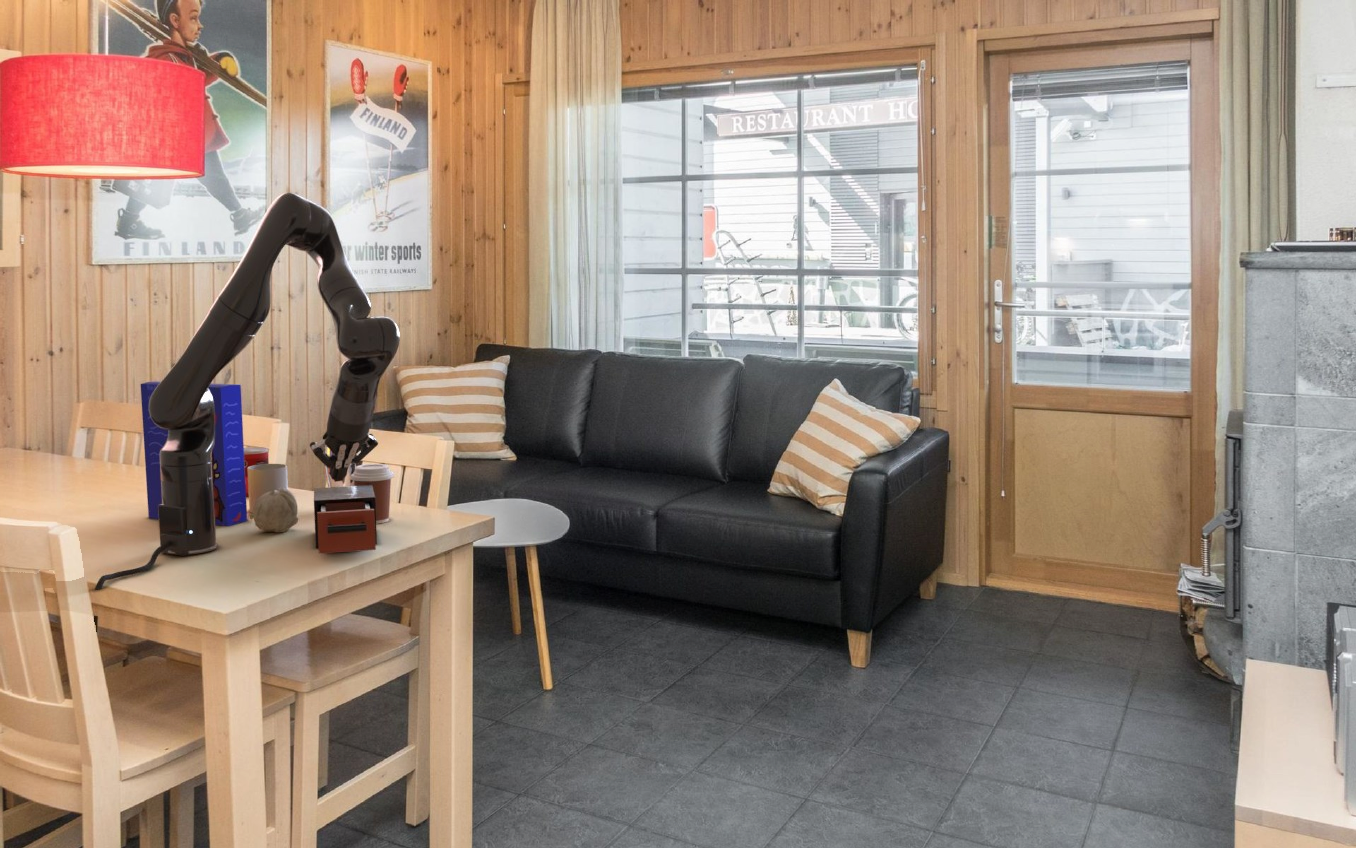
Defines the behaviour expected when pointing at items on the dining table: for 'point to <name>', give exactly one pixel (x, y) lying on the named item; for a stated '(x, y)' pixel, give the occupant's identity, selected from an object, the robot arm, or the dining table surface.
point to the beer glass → (346, 480)
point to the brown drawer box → (346, 527)
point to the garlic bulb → (275, 511)
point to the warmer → (343, 500)
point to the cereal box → (224, 454)
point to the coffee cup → (376, 486)
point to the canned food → (254, 460)
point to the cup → (265, 480)
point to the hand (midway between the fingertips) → (336, 478)
